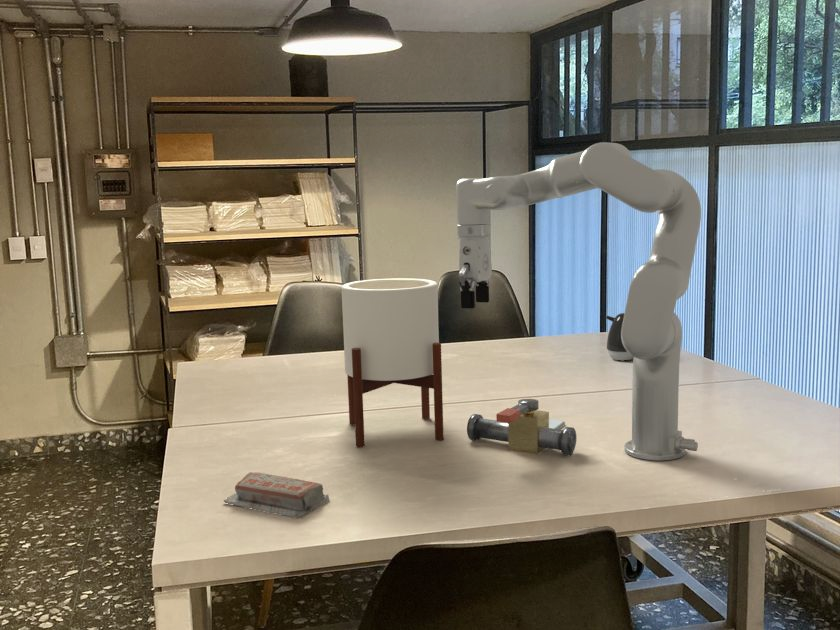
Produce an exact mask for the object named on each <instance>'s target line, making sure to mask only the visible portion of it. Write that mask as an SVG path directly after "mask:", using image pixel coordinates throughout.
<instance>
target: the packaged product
mask: <svg viewBox="0 0 840 630" xmlns="http://www.w3.org/2000/svg"><path fill="white" fill-rule="evenodd" d="M234 491H235V492H236V493H234V494H231V495H230V496H228V497H227V499H223V503H224V502H225V503H228V504H233V505H236V506H235V507H242V508H244V507H247V508H246V509H248V508H252V509H251V510H253V509H256V510H255V511H258V510H260V511H259V512H262V511H265V512H264V513H267V512H269V513H268V514H272V513H276V514H275V515H278V514H281V515H280V516H284V515H286V516H285V517H289V518H290V517H291V518H293V517H296V518H295V519H299V518H301V519H302V518H304V517H306V516H308V515H309V514H310V512H311V513H312V512H314V511H315V509H316V510H317V509H319V508H320V506H321V507H322V506H324V505H325V504H327V503H329V502H330V496H329V494H324V488H323V484H322V483H318V482H313V481H309V480H307V481H306V480H304V479H298V478H292V477H286V476H279V475H276V474H275V475H273V474H268V473H264V472H258V471H257V472H248V473H247V474H246V475H245V476H244V477H243V478H242V479H241V480H240V481H238V482H237V484H236V485H235V487H234ZM233 505H232V506H233ZM318 507H319V508H318ZM308 513H309V514H308ZM305 515H306V516H305ZM303 516H304V517H303Z"/></svg>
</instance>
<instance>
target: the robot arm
mask: <svg viewBox="0 0 840 630" xmlns="http://www.w3.org/2000/svg"><path fill="white" fill-rule="evenodd" d="M455 188H456V191H455V192H456V196H455V197H456V221H457V222H456V225H457V229H456V230H457V240H459V249H458V250H459V252H458V255H459V257H458V261H459V262H458V268H459V269H458V270H459V273H458V279H459V285H460V286H459V287H460V288H459V291H460V307H461V309H470V310H473V309H475V307H476V303H485V304H486V303H490V286H489V285H490V280H489V279H491V278H492V276H493V267H492V265H493V264H492V255H491V254H492V253H491V252H492V251H491V245H490V238H491V227H490V225H491V224H490V222H491V221H490V211H491V210H493V211H504V210H505V211H506V210H513V209H514V210H515V209H519V208H523V207H527V206H530V205H534V204H539V203H543V202H547V201H550V200H554V199H562V198H565V197H569V196H573V195H576V194H580V193H583V192H588V191H592V190H595V189H600V190H601V191H603V192H604V193H606V194H608V195H610V196H611V197H613V198H615V199H617V200H618V201H620V202H622V203H623V204H625V205H627V206H629V207H630V208H631V209H634V210H636V211H639V212H641V213H645V214H652V213H658V222H657V225H656V229H655V231H654V236H653V241H652V246H651V251H650V255H649V259H648V261H647V262H645V263H643V264H642V265H641V266H639V267H638V268H637V269H636V271H635V273H634V274H633V277H632V279H631V281H630V286H629V288H628V294H627V298H626V304H625V308H624V312H623V313H624V318H623V323H622V329H621V340H622V343H623V346H624V348H625V349H626V351H627V352H628V353H629V354H630V355H631V356H633V357H634V358H633V359H632V382H631V383H632V385H631V386H632V395H631V397H632V401H631V404H632V408H631V418H632V419H631V440H629V441H627V442H626V443H624V452H625V453H626V454H627V455H629V456H631V457H634V458H637V459H639V460H646V461H647V460H648V461H671V460H676V459H679V458H681V457H683V456H685V454H686V450H687V451H691V452H697V451H698V447H699V444H698V442H697V441H696V440H695V439H694V438H693V439H692V438H684V436H682V435H683V431H682V430H679V391H680V389H679V386H680V385H679V384H680V364H681V363H680V361H681V349H682V342H683V326H682V323H681V320H680V318H679V316H678V315H677V314H676V312H675V308H676V304H677V300H679V299H680V298H682V297H683V296H684V295H685V294H686V292H687V291H688V287H689V284H690V278H691V272H692V268H693V262H694V257H695V252H696V246H697V241H698V236H699V231H700V227H701V226H700V225H701V222H702V220H701V219H702V208H701V206H702V205H701V201H700V198H699V195H698V193H697V191H696V189H695V188H694V186H693V185H692V184H691V183H690V182H689V181H688V180H687V179H686V178H685V177H683V176H682V175H680V174H679V173H677V172H675V171H673V170H670V169H662V168H661V169H660V168H659V169H658V168H657V169H654V168H651V167H649V166H647V165H646V164H644V163H642V162H640V161H638V160H636V159H635V158H633V156H632V154H631V151H630V150H629V149H628V148H627V147H626V146H624V145H623V144H620V143H616V142H605V141H604V142H596V143H594V144H592V145H589V146H588V147H587V148H586V149H585V150H582V151H577V152H574V153H571V154H567V155H563V156H559V157H556V158H553V159H552V160H551V161H550V163H549V164H548V165H546V166H544V167H541V168H537V169H535V170H531V171H528V172H523V173H520V174H515V175H499V176H492V177H485V178H481V177H474V178H473V177H471V178H460V179H459V180H457V182H456V185H455ZM475 283H476V285H475ZM474 286H475V290H474Z"/></svg>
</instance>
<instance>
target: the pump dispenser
mask: <svg viewBox="0 0 840 630" xmlns="http://www.w3.org/2000/svg"><path fill="white" fill-rule="evenodd" d="M624 313H625V312H621V313H618V314H617V315H616V316H615V317H613V316H610V315H607V316H606V317H605V318H606V320H608V321H610V322H611V325H610V327H609V331H608V335H607V338H606V339H607V340H606V350H607V353H608V355H609V357H610V358H612V360H614V361H617V360H621V361H620V362H625V361H624V360H629V361H631V360H632V361H633V359H634V357H633V356H631V355H630V354H629V353H628V352H627V351H626V349H625V348H624V346H623V343H622V340H621V329H622V323H623V318H624Z"/></svg>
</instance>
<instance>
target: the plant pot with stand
mask: <svg viewBox="0 0 840 630" xmlns="http://www.w3.org/2000/svg"><path fill="white" fill-rule="evenodd" d="M438 289H439V288H438V283H437V282H436V281H435V280H431V279H427V278H426V279H425V278H410V277H409V278H407V277H406V278H405V277H404V278H402V277H401V278H400V277H399V278H397V277H396V278H375V279H364V280H356V281H352V282H351V281H350V282H347V283H344V284H343V285H342V286H341V305H342V307H341V308H342V330H343V351H344V352H343V353H344V372H345V374H346V375H347V378H346V379H347V397H348V400H347V401H348V415H349V416H348V420H349V422H348V423H349V425H350V424H355V425H354V433H355V434H354V435H355V447H356V446H357V447H356V448H364V447H365V445H366V444H365V443H366V442H365V424H364V423H365V422H364V421H365V420H364V419H365V418H364V401H363V399H364V398H363V397H364V394H366V393H369V392H372V391H375V390H378V389H380V388H384V387H386V386H389V385H391V384H392V385H393V384H396V385H397V384H399V385H404V386H405V385H406V386H412V387H418V388H419V387H420V395H421V399H420V400H421V419H422V420H430V419H431V415H430V414H431V413H430V411H431V410H430V389H433V407H434V409H433V410H434V411H433V412H434V440H435V441H439V442H440V441H444V409H443V406H444V404H443V371H442V369H443V367H442V366H443V365H442V363H443V362H442V342H440V338H439V337H440V336H439V335H440V331H439V328H440V326H439V299H438V298H439V297H438V295H439V294H438V292H439V291H438ZM363 446H364V447H363Z"/></svg>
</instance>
